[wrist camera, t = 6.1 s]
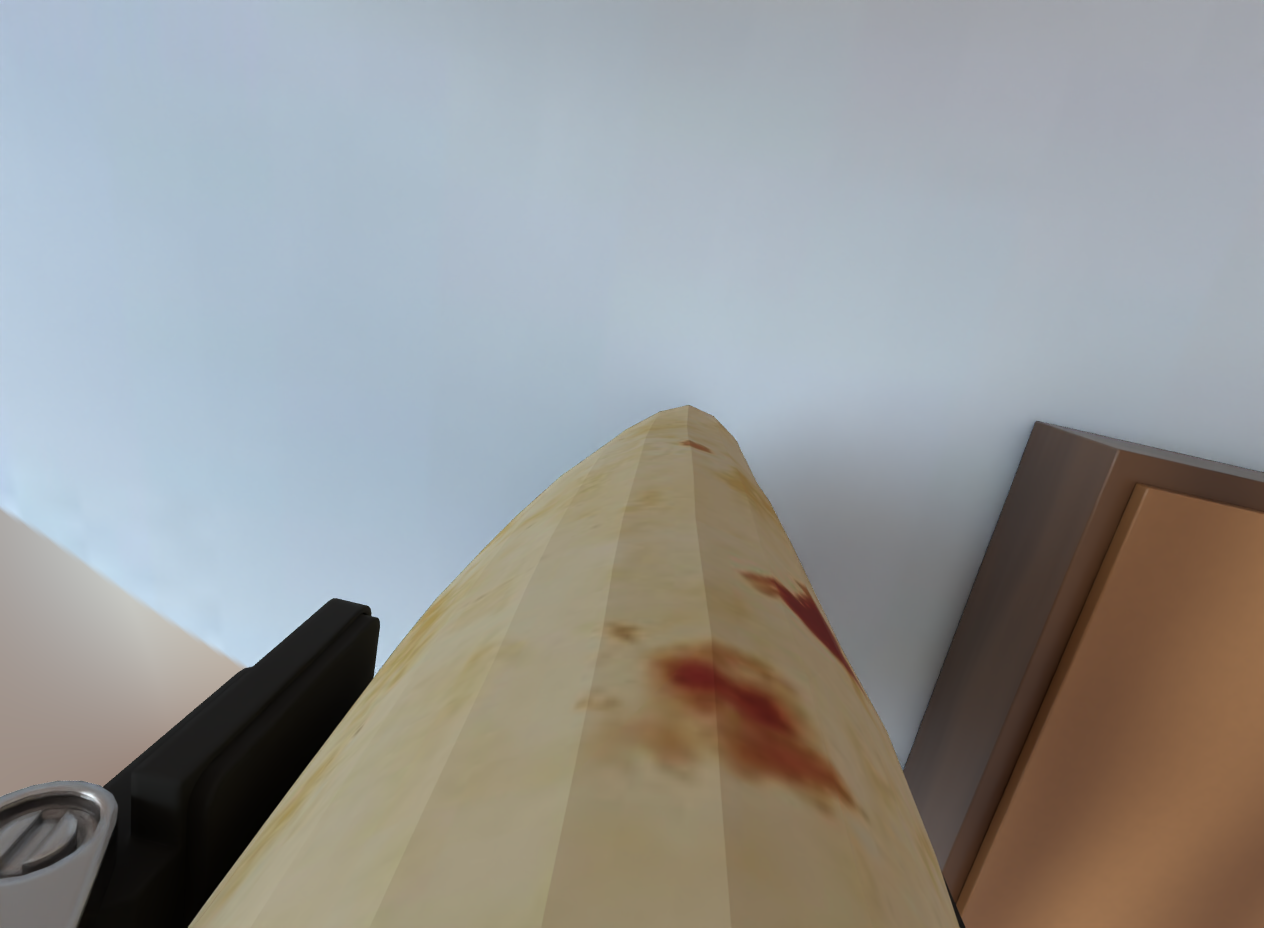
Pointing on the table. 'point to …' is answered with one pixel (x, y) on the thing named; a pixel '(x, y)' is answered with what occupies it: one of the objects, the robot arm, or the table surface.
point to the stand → (1105, 698)
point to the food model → (608, 734)
